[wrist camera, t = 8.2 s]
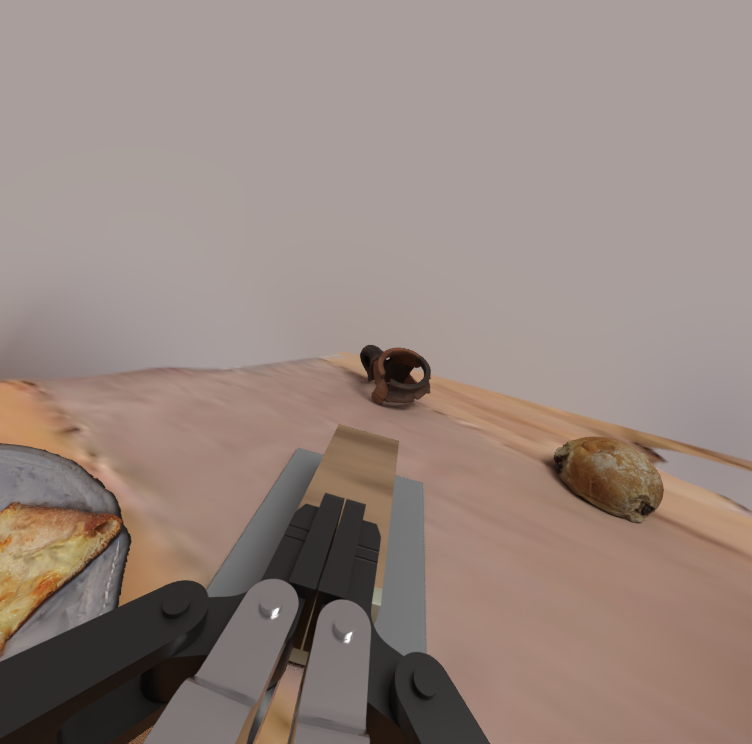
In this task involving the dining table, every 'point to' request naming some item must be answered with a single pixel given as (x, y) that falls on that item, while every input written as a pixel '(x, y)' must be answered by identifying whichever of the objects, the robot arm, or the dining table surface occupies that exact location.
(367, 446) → the walnut block
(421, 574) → the rubber mat
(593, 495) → the bread roll
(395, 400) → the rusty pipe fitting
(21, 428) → the dining table surface
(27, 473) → the food plate
